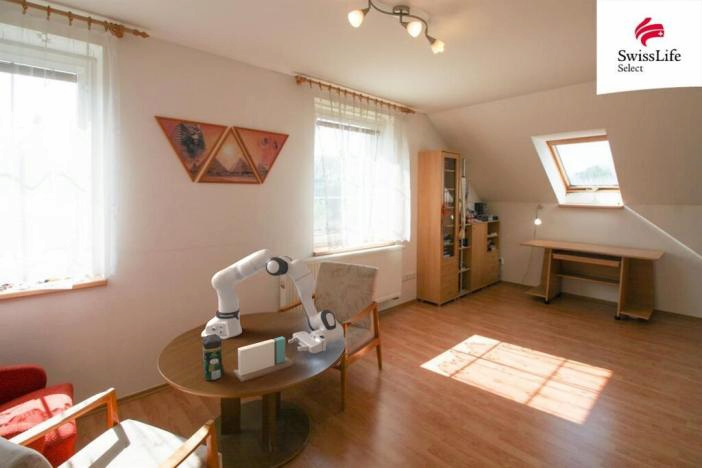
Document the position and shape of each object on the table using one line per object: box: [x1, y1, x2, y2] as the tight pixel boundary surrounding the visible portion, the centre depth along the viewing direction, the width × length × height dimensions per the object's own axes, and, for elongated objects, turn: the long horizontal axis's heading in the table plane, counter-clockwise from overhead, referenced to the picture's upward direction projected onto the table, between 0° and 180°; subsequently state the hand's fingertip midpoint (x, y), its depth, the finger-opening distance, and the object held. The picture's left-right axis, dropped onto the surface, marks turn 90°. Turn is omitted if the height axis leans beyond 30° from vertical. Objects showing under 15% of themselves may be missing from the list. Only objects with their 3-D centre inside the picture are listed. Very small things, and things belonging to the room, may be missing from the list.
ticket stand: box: [233, 338, 295, 383], centre depth 164 cm, size 26×10×13 cm, turn 128°
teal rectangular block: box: [273, 336, 286, 364], centre depth 168 cm, size 5×3×12 cm, turn 127°
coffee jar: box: [202, 334, 223, 381], centre depth 156 cm, size 10×8×19 cm
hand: (293, 345), depth 173 cm, fingers open, 8 cm apart
